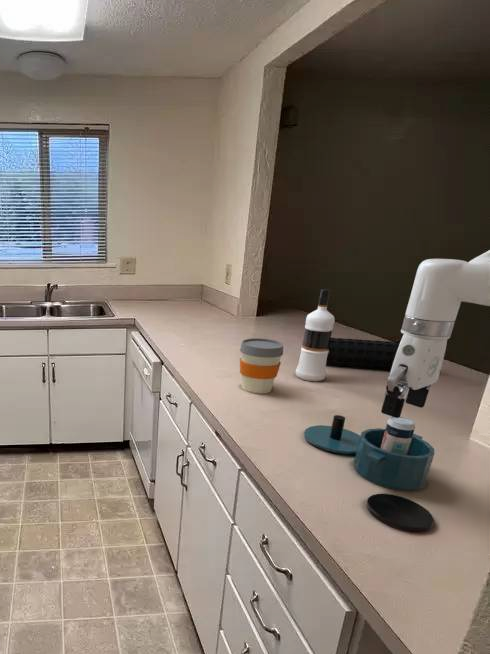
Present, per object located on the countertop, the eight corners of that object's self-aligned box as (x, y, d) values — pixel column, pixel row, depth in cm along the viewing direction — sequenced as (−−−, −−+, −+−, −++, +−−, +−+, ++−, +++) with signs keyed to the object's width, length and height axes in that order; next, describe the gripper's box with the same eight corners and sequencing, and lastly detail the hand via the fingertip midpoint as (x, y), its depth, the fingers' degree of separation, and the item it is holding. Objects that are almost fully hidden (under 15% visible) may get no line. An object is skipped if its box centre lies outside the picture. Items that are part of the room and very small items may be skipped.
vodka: (288, 374, 152) (303, 288, 141) (310, 371, 154) (325, 286, 144) (309, 383, 143) (325, 292, 133) (331, 380, 146) (349, 290, 136)
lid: (378, 446, 103) (385, 421, 101) (346, 462, 97) (352, 435, 94) (323, 425, 114) (328, 401, 112) (291, 437, 108) (296, 413, 105)
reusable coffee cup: (259, 379, 147) (265, 336, 142) (286, 392, 136) (293, 346, 131) (227, 383, 143) (232, 340, 138) (252, 397, 132) (258, 350, 127)
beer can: (388, 464, 95) (401, 414, 91) (407, 476, 90) (422, 424, 86) (369, 466, 94) (382, 416, 90) (388, 478, 89) (402, 426, 85)
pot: (441, 475, 92) (452, 443, 89) (398, 502, 83) (408, 468, 80) (378, 450, 102) (386, 421, 99) (334, 471, 93) (341, 440, 90)
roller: (303, 362, 159) (307, 334, 159) (299, 362, 169) (302, 336, 168) (426, 372, 148) (430, 343, 147) (414, 372, 157) (417, 344, 157)
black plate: (442, 519, 78) (444, 515, 78) (415, 539, 73) (417, 535, 73) (383, 492, 86) (384, 487, 86) (355, 508, 81) (356, 504, 81)
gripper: (428, 337, 74) (401, 427, 80) (470, 326, 83) (443, 407, 89) (381, 328, 80) (360, 412, 86) (425, 318, 89) (403, 395, 95)
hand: (402, 410), depth 87 cm, fingers open, 9 cm apart
